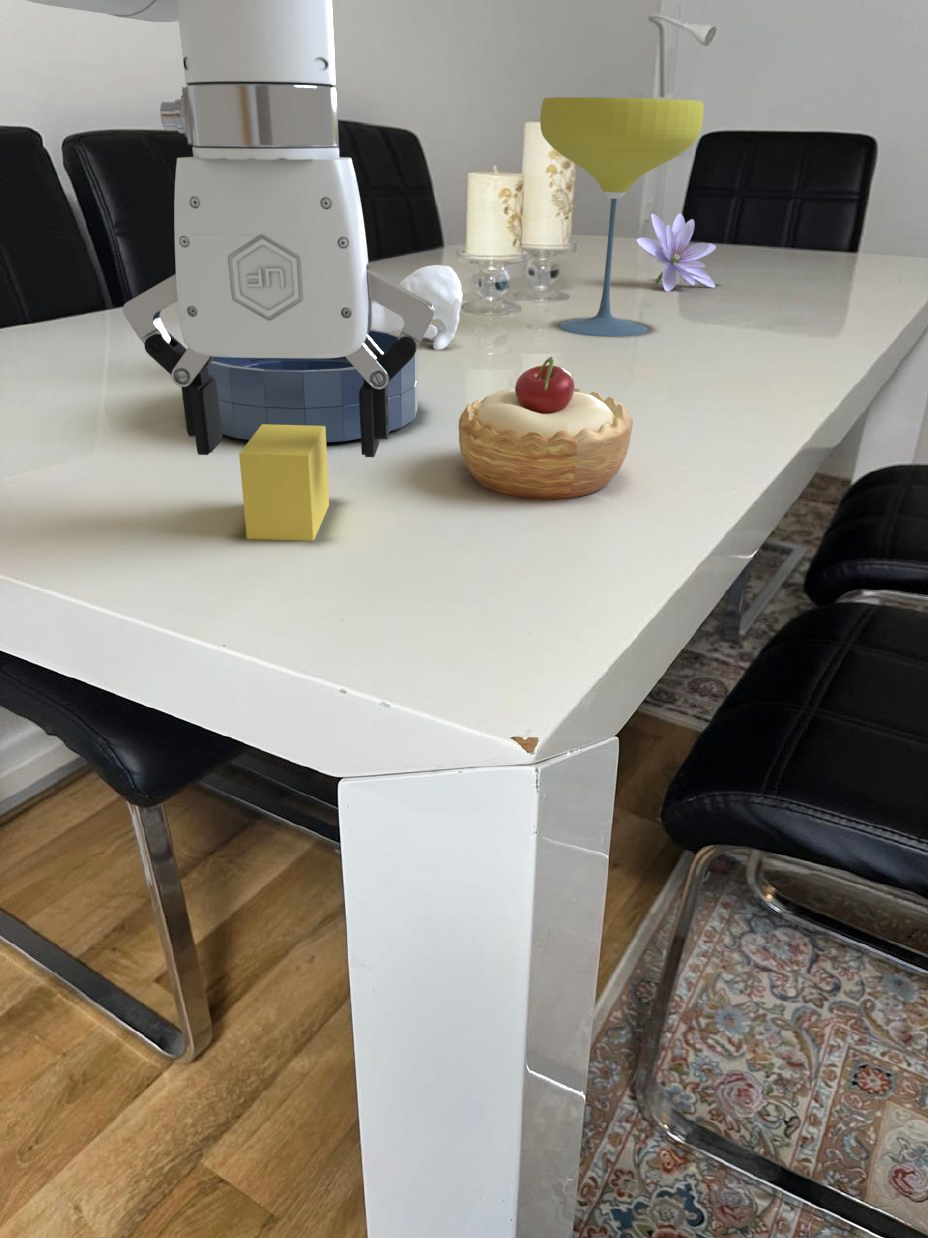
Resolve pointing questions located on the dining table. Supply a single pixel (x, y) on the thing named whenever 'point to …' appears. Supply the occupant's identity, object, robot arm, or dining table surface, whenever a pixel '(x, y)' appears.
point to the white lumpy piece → (439, 291)
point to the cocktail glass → (617, 160)
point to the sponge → (285, 482)
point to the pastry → (544, 437)
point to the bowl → (306, 393)
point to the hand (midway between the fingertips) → (290, 449)
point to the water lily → (677, 252)
